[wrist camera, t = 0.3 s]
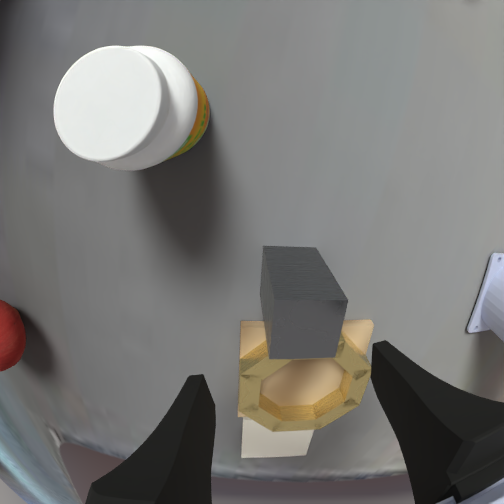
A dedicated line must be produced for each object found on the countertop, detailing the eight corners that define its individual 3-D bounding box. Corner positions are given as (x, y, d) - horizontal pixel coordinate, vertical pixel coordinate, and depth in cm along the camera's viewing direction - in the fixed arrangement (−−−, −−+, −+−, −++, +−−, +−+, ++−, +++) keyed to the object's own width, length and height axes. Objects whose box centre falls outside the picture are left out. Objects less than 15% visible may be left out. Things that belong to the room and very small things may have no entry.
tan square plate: (370, 319, 23) (374, 325, 23) (343, 405, 27) (346, 411, 26) (240, 320, 23) (241, 327, 22) (237, 410, 27) (237, 416, 26)
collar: (374, 324, 23) (382, 338, 21) (346, 411, 26) (350, 425, 25) (240, 326, 22) (241, 342, 20) (237, 417, 26) (238, 432, 24)
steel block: (315, 247, 21) (348, 300, 15) (309, 294, 22) (335, 357, 16) (263, 245, 21) (274, 299, 14) (259, 293, 22) (268, 359, 16)
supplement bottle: (180, 173, 19) (131, 213, 10) (110, 132, 18) (16, 142, 9) (228, 98, 17) (219, 67, 8) (154, 58, 16) (87, 7, 7)
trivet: (317, 414, 27) (317, 417, 27) (305, 452, 30) (305, 455, 29) (242, 417, 27) (243, 420, 27) (241, 454, 29) (241, 457, 29)
